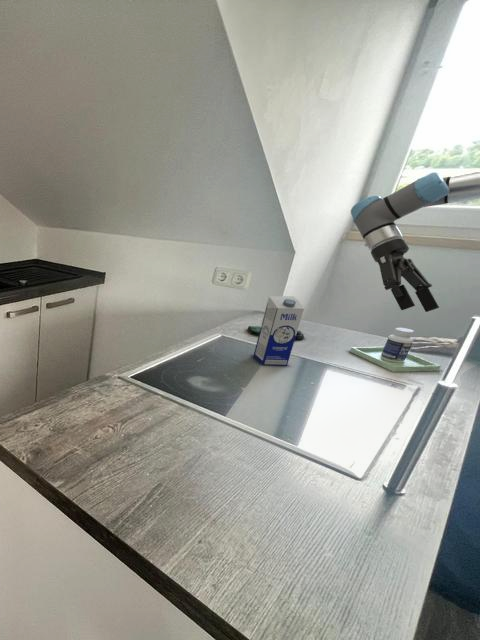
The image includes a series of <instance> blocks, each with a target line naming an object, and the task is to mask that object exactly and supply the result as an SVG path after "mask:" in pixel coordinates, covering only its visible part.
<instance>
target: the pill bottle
mask: <svg viewBox="0 0 480 640" xmlns="http://www.w3.org/2000/svg"><path fill="white" fill-rule="evenodd" d="M414 333H415V332H414V330H413V329H410V328H406V327H395V329H394V331H393V333H392V334H390V335H389V336H388V337H387V339H386V342H385V344H384V346H383V347H384V349H383V352H382V354H381V358H382V359H384V360H386V361H390V362H395V363H402V362H404V361H405V359H406V357H407V354H408V353H410V350H411V347H412V346H413V343H414V339H413V337H412V336H413V335H414Z"/></svg>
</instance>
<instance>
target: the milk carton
mask: <svg viewBox="0 0 480 640" xmlns="http://www.w3.org/2000/svg"><path fill="white" fill-rule="evenodd" d="M304 310H305V307H304V305H303V304H302V303H301V302H300V301H299V300H298V298H296V297H295V296H293V295H290V296H285V295H269V296H268V299H267V302H266V306H265V310H264V314H263V317H262V321H261V325H260V327H261V329H260V333H259V336H258V335H257V336H258V337H257V340H256V345H255V349H254V351H253V358H255V360H257V361H258V362H259V363H260V364H261V365H262V366H288V363H289V360H290V357H291V354H292V351H293V348H294V344H295V341H296V340H295V337H296V334H297V331H299V327H300V324H301V321H302V318H303V314H304Z"/></svg>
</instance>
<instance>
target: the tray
mask: <svg viewBox="0 0 480 640" xmlns="http://www.w3.org/2000/svg"><path fill="white" fill-rule="evenodd" d="M384 347H385V346H356V347H355V346H353V347H352V346H351V347H350V349H349V353H352V354H353V355H356V356H358V357H360V358H363V359H364V360H367V361H368V362H371V363H373V364H375V365H377V366H379V367H381V368H384V369H386V370H387V371H390V372H392V373H399V372H401V373H402V372H435V371H436V372H439V371H440V370H441V367H442V366H441V365H440V364H437V363H435V362H433V361H430V360H427V359H425V358H422V357H420V356H418V355H415V354H412V353H410V352H408V354H407V357H406V359H405V361H404V362H402V363H395V362H390V361H386V360H384V359H382V358H381V354H382V352H383V349H384Z"/></svg>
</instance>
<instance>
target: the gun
mask: <svg viewBox="0 0 480 640" xmlns="http://www.w3.org/2000/svg"><path fill="white" fill-rule="evenodd" d="M260 329H261V326H254V325H249V326H247V330H248V332H249V333H250V334H251V335H253V336H259V333H260ZM304 335H305V334H304V333H303V332H302V331H301V330H298V331H297V334H296V337H295V341H301V340H303V339H304V338H305V336H304Z"/></svg>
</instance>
